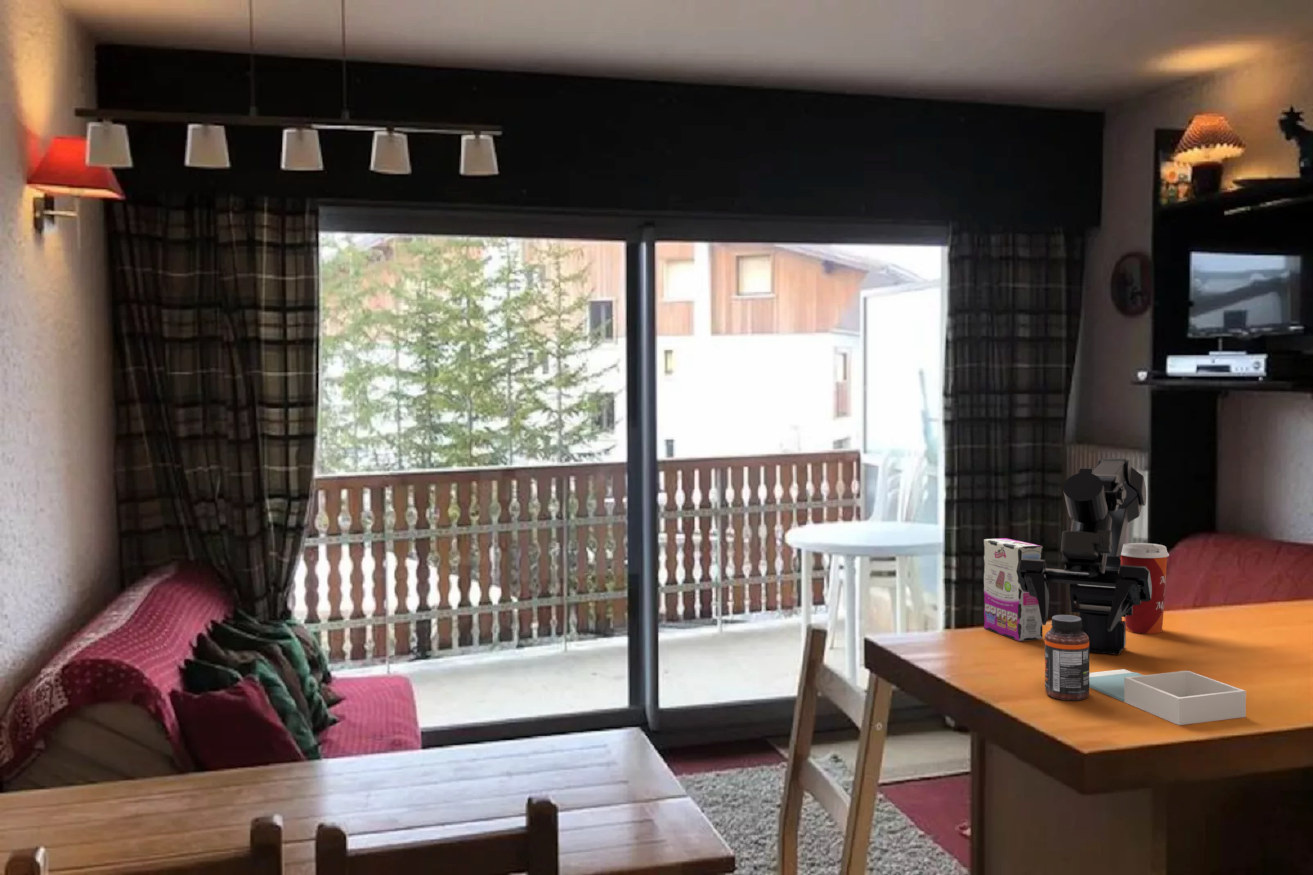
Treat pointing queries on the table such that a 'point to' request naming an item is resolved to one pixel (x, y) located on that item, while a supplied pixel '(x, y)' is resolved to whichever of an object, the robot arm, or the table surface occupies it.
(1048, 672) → the supplement bottle
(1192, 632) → the table surface
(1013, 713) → the table surface
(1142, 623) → the coffee cup
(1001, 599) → the candy bar box
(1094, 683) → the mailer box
